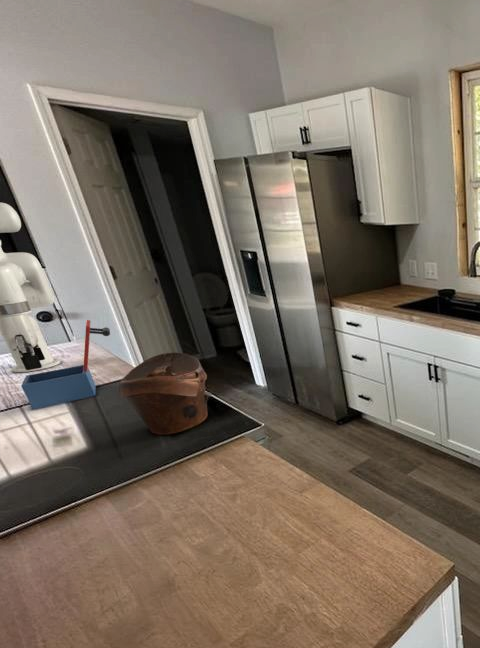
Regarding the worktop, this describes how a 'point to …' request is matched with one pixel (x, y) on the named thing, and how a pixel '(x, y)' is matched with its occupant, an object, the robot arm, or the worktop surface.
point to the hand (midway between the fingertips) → (36, 364)
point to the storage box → (58, 386)
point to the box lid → (104, 331)
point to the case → (167, 392)
